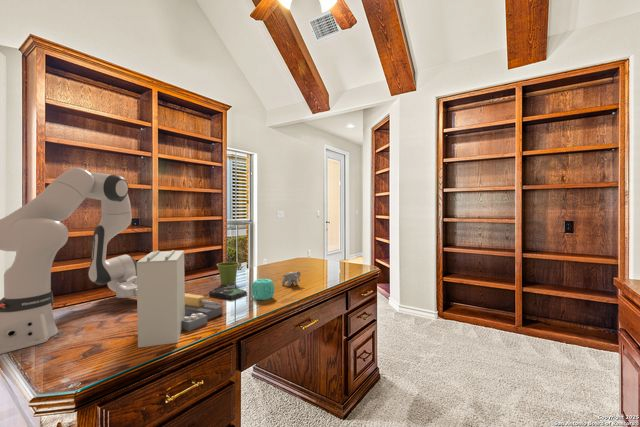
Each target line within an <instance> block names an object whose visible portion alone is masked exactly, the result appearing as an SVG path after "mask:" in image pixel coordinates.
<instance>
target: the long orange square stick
mask: <svg viewBox="0 0 640 427" xmlns="http://www.w3.org/2000/svg"><path fill="white" fill-rule="evenodd" d="M204 304H209V305H215V306H217V305H218V306H222V304H221V303H220V302H218V301H213V300H207V299H205V295H201V294H200V295H199V294H193V293H186V292H185V305H190V306H196V307H199V306H202V305H204Z"/></svg>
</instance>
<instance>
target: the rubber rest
mask: <svg viewBox="0 0 640 427" xmlns="http://www.w3.org/2000/svg"><path fill="white" fill-rule="evenodd" d="M196 313H203V314H204V315H207V321H208V320H212V319H213V318H216V317H218V316H220V315H223V306H222V305H217V306H215V305H209V304H204V305H202V306H199V307H196V306H190V305H185V317H186V316H187V317H189V316H191V314H196Z"/></svg>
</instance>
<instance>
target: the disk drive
mask: <svg viewBox="0 0 640 427" xmlns="http://www.w3.org/2000/svg"><path fill="white" fill-rule="evenodd" d="M247 293H248V292H247V290H244V289H239V288H233V287H229V286H223V287H220V288H217V289H215V290H210V291H209V293H208V294H209V297H214V298H217V299H223V300H227V301H233V300H237V299H240V298H243V297H245V296H247V295H248V294H247Z"/></svg>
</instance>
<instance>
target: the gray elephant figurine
mask: <svg viewBox="0 0 640 427" xmlns="http://www.w3.org/2000/svg"><path fill="white" fill-rule="evenodd" d="M282 277H283V279H282V281H281V285H282V286H285V284H286V287H288V288H290V287H291V284H292V283H293V284H294V285H295V286H298V284H299V283H301V279H300V277H301V272H300V271H296V272H295V271H294V272H293V271H290V272H287V273H285V274H283V275H282ZM286 282H287V283H286Z"/></svg>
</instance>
